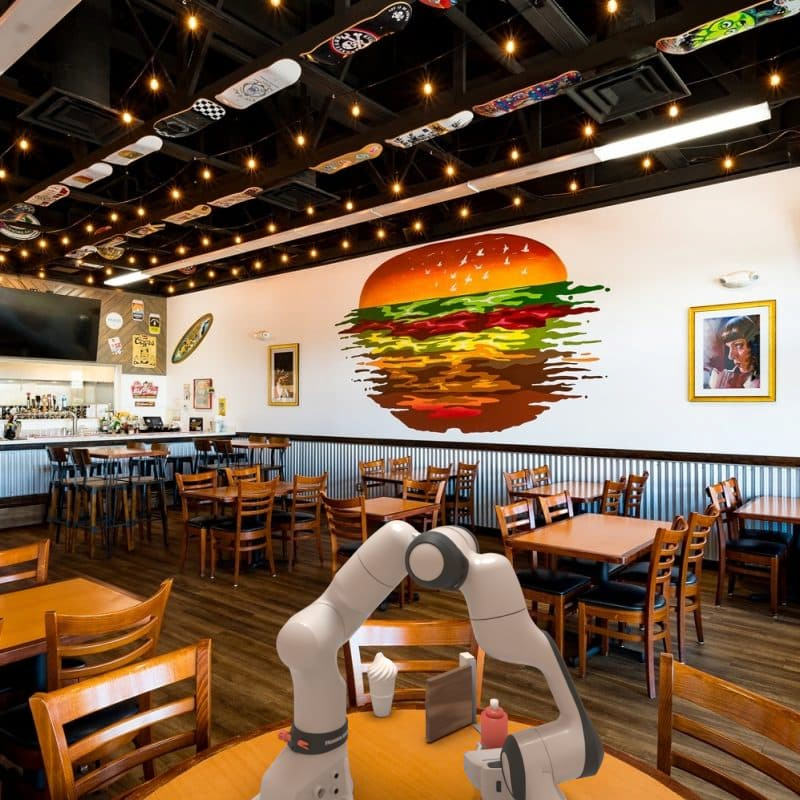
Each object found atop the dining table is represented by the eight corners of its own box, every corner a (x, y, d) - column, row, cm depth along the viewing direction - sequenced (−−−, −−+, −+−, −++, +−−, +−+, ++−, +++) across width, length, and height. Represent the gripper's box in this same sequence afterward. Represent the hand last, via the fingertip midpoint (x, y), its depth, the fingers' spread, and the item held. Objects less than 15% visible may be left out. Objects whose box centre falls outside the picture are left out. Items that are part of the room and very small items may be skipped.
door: (421, 737, 149) (421, 677, 150) (463, 718, 159) (463, 662, 160) (429, 742, 147) (429, 681, 148) (471, 722, 157) (471, 665, 157)
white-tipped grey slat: (502, 756, 142) (502, 687, 142) (459, 713, 163) (459, 653, 163) (511, 754, 142) (511, 685, 143) (467, 712, 163) (467, 652, 164)
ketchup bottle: (499, 780, 132) (499, 709, 133) (476, 770, 136) (475, 701, 137) (513, 768, 137) (512, 699, 138) (489, 759, 141) (489, 692, 141)
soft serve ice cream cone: (403, 711, 164) (403, 651, 165) (386, 724, 157) (386, 661, 158) (377, 703, 169) (377, 645, 169) (360, 715, 162) (360, 654, 162)
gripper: (574, 758, 121) (545, 724, 135) (475, 768, 117) (456, 732, 131) (574, 791, 121) (545, 753, 134) (475, 802, 117) (456, 762, 130)
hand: (500, 743), depth 132 cm, fingers open, 8 cm apart
